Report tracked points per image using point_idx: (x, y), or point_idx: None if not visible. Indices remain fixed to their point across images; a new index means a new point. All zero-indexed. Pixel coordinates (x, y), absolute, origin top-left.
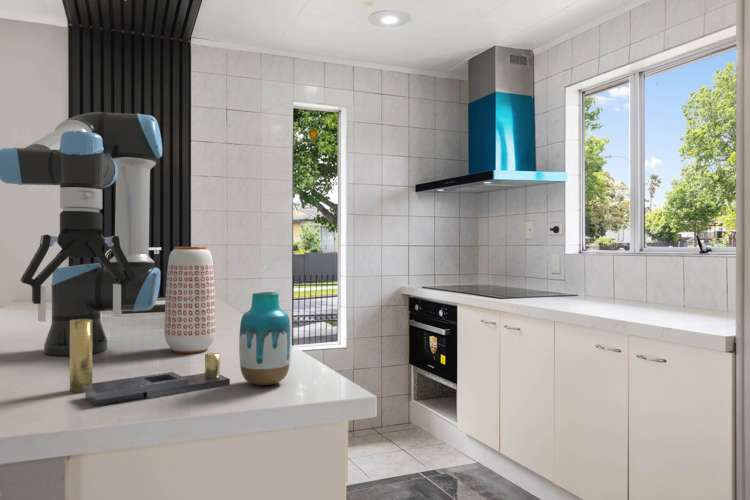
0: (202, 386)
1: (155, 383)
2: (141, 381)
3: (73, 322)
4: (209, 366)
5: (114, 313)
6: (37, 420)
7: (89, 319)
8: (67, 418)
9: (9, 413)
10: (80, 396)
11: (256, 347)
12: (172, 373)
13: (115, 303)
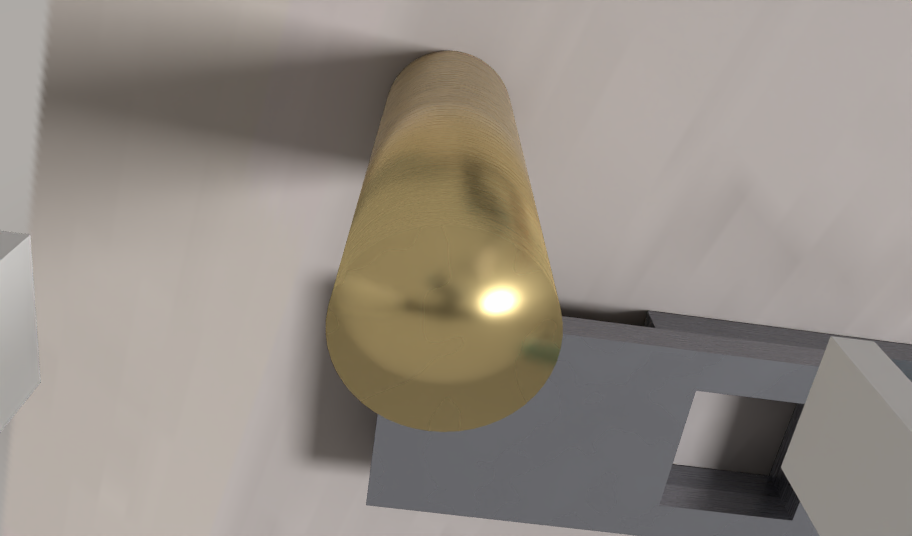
0: None
1: (658, 529)
2: (639, 452)
3: (340, 373)
4: None
5: (823, 404)
6: (122, 473)
7: (534, 342)
8: (225, 522)
9: (35, 299)
10: None
11: None
12: None
13: (867, 524)
